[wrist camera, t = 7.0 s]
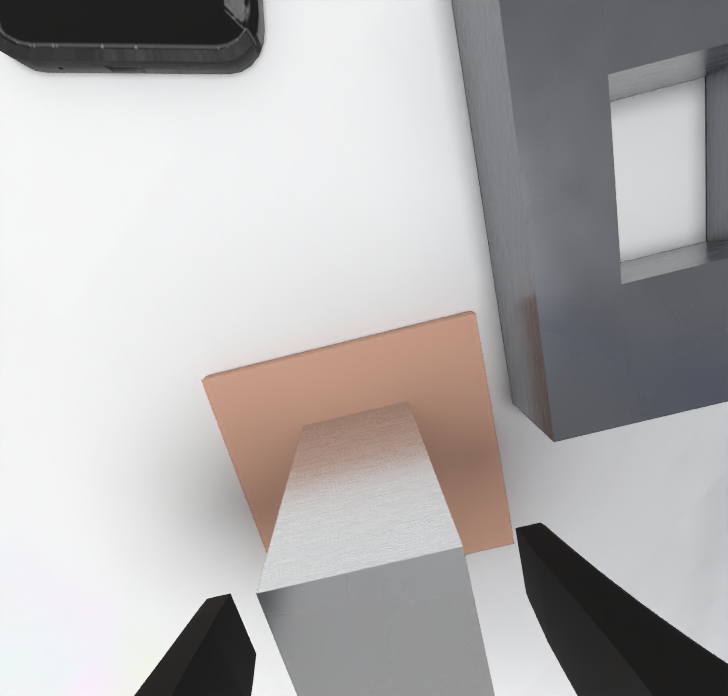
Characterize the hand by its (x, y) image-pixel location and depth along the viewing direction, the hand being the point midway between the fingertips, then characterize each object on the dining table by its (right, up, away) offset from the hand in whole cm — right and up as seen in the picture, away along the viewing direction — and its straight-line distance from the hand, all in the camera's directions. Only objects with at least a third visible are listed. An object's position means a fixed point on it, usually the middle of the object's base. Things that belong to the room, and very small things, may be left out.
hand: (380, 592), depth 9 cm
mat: (0, +1, +6) cm, 6 cm away
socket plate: (+9, +12, +3) cm, 15 cm away
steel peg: (0, +2, +5) cm, 5 cm away
